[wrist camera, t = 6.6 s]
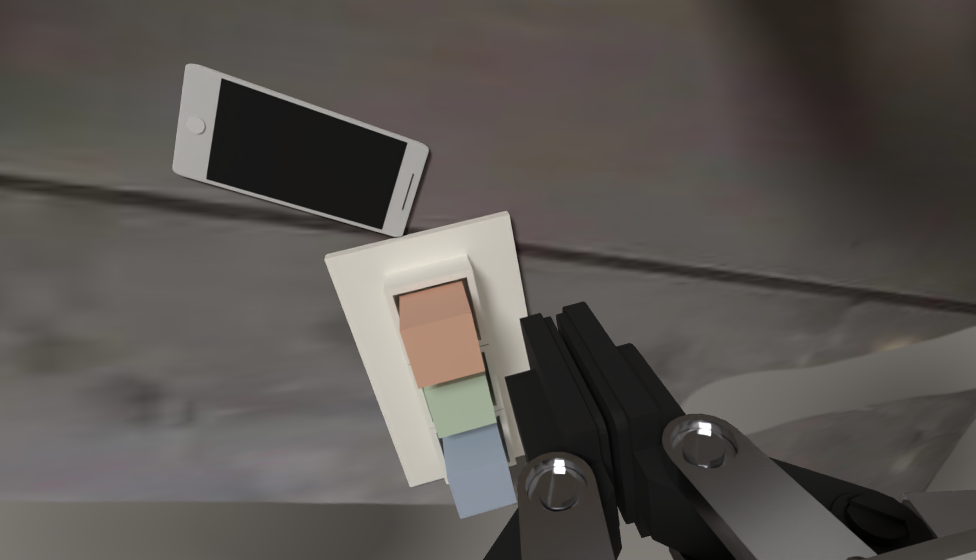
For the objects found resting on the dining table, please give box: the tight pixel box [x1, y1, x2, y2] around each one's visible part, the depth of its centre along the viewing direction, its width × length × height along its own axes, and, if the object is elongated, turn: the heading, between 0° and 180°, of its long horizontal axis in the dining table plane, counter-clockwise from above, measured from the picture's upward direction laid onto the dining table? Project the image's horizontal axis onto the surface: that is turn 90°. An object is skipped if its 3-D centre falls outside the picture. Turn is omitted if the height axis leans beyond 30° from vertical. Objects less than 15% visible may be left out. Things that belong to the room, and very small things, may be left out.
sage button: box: [424, 371, 497, 438], centre depth 37 cm, size 5×5×5 cm
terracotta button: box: [400, 281, 485, 389], centre depth 32 cm, size 5×5×5 cm
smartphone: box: [173, 64, 429, 237], centre depth 32 cm, size 7×15×1 cm, turn 70°
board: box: [325, 211, 530, 487], centre depth 39 cm, size 14×24×4 cm, turn 11°
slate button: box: [442, 423, 517, 519], centre depth 38 cm, size 5×5×5 cm
